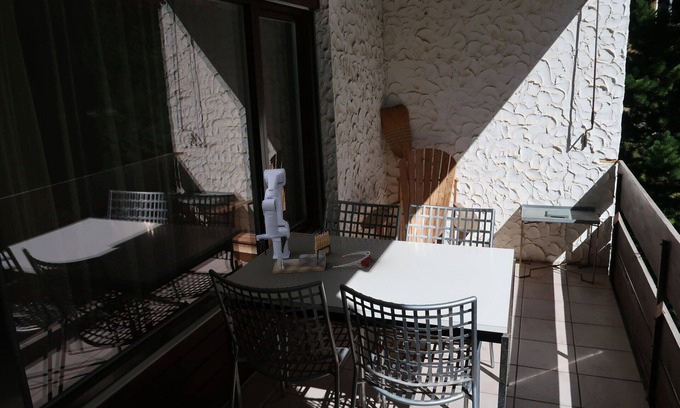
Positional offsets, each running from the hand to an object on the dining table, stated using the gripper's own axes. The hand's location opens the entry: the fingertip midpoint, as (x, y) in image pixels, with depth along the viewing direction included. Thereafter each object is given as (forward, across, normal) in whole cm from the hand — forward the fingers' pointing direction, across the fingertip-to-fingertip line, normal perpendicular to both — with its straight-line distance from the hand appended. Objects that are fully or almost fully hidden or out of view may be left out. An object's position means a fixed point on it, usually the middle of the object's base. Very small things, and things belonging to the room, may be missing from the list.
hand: (274, 253), depth 254 cm
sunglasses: (+9, +37, 0) cm, 38 cm away
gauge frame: (+9, +12, +3) cm, 15 cm away
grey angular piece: (+7, +6, +3) cm, 10 cm away
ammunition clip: (+8, +25, +14) cm, 30 cm away
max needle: (+8, +3, 0) cm, 8 cm away
